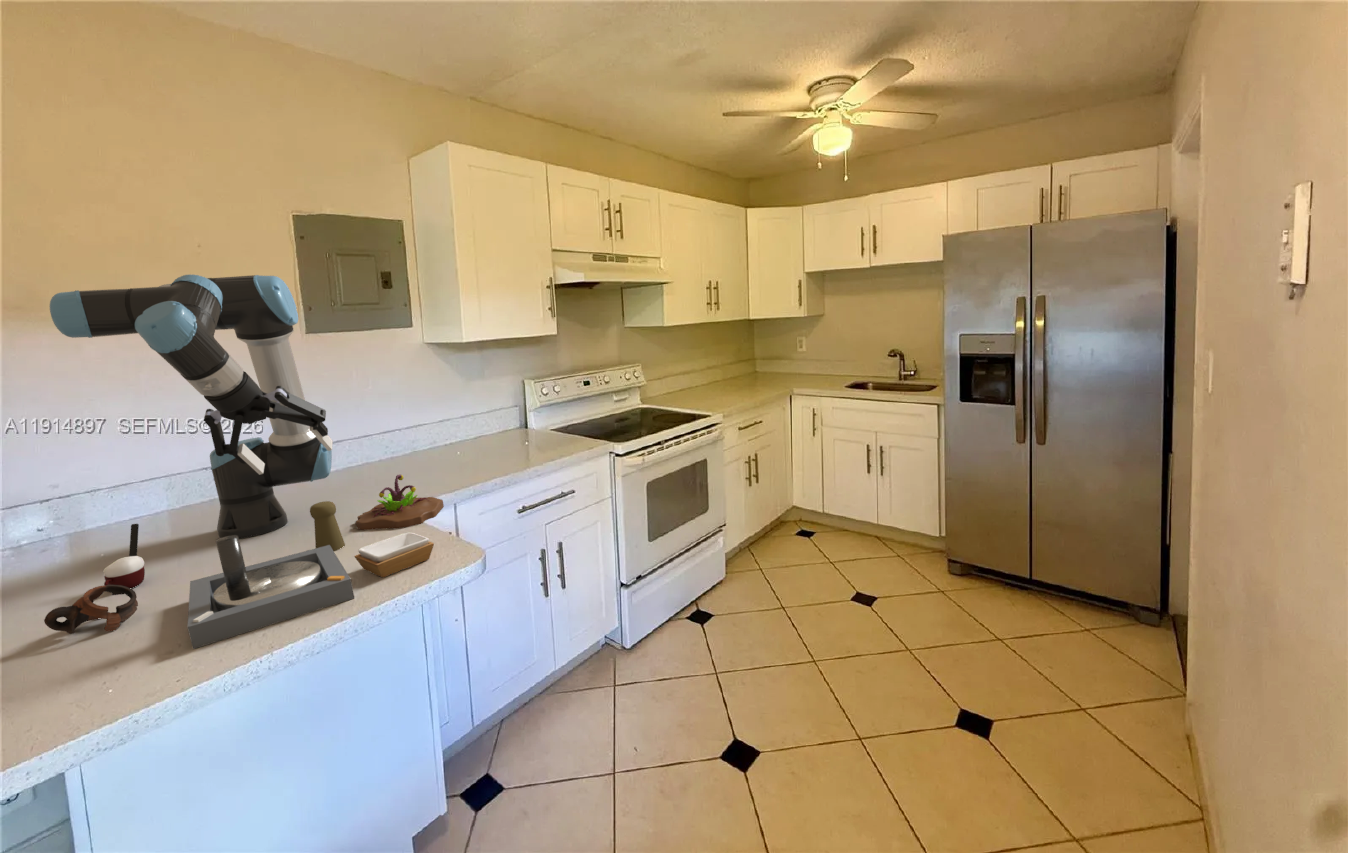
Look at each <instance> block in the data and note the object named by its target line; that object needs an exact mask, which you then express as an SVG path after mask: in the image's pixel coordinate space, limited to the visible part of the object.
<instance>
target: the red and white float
mask: <svg viewBox="0 0 1348 853" xmlns="http://www.w3.org/2000/svg"><path fill="white" fill-rule="evenodd" d="M139 526H140V525H139V523H131V525H130V537H129V538H130V539H129V555H128V556H125V557H121V558H118V559H116V560H115V561H114V562H112V563H110V564H109V565H107V566H106V567H105V568H104V569H103V571H102V573H103V574H104V576H103V577H104V580H105V581H104V583H103V584H104V585H122V586H126V587H128V588H132V589H134V588H136V587H135V586H137V585H138V586H140V585H141V584H142V583H143V582H144V579H145V574H146V570H145V561H144V559H143V557H141V556H138V545H139V544H138V543H139V541H138V540H139ZM139 584H140V585H139ZM138 586H137V587H138ZM133 587H134V588H133Z"/></svg>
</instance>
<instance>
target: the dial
mask: <svg viewBox="0 0 1348 853" xmlns="http://www.w3.org/2000/svg"><path fill="white" fill-rule="evenodd" d="M215 544H216V548H217V552H218V555H219V556H218V557H219V561H220V564H221V569H222V573H223V574H224V578H225V582H226V583H224V584H223V585H221V586H220V587H219V588H217V590H216V591H215V592H214V595H213V596H214V600H215V604H216V608H217V609H218V610H220V611H222V610H226V609H229V608H233V607H236V606H240V605H243V604H246V603H250V602H253V601H257V600H260V599H264V598H267V597H270V596H274V595H277V594H281V593H284V592H288V591H291V590H294V589H298V588H301V587H305V586H308V585H312V584H315V583H319V582H320V581H321V579H322V575H321V570H320V566H319V565H318V564H317V563H314V562H308V561H296V562H287V563H281V564H276V565H271V566H267V567H263V568H260V569H257V570H253V571H251V572H248V573H247V572H246V568H245V567H246V564H245V560H244V555H243V551H242V547H241V542H240V539H239V538H238V535H231V536H226V537H222V538H218V539H216V540H215Z"/></svg>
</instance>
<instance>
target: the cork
mask: <svg viewBox="0 0 1348 853" xmlns="http://www.w3.org/2000/svg"><path fill="white" fill-rule="evenodd" d="M336 512H337V507H336V504H335V503H334V502H333V501H330V500H329V501H327V500H325V501H320V502H317V503H313V505H311V506H310V508H309V513H310V516H311V518H312V519H314V520H313V521H314V522H313V523H314V538H315V539H314V543H315V545H314V546H315V549H316V548H319V547H323V546H327V545H330V546H331V548H332V549H333V551H334V552H336V551H339V550H341V549H343V548H344V547H345V546H346V543H345V540H344V538H343V535H342V532H341V530H340V527H339V523H338V521H337V518H336V515H335V514H336ZM343 546H344V547H343ZM342 547H343V548H342ZM340 548H341V549H340Z"/></svg>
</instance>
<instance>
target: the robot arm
mask: <svg viewBox="0 0 1348 853" xmlns="http://www.w3.org/2000/svg"><path fill="white" fill-rule="evenodd" d="M295 302H296V301H295V299H294V296H293V294H292V292H291V290H290V288H289V287H288V284H286V282H285V281H284V280H283V279H282V278H280V277H279V276H278V275H277V276H276V275H259V274H254V275H241V276H238V275H237V276H226V277H225V276H223V277H221V276H220V277H205V276H203V275H198V274H183V275H181V276H179V277H177V278H176V279H174V280H173V282H172V283H166V284H161V285H159V286H151V287H150V286H149V287H133V288H119V289H118V288H115V289H114V288H113V289H111V288H110V289H93V290H89V289H88V290H72V291H62V292H57V293H56V294H53V296H52V297H51V299H50V301H49V313H50V317H51V319H52V323H53V324H54V326H55V328H56V329H57V330H58V331H59V332H60V334H62V335H64V336H66V337H68V338H72V339H73V338H75V339H76V338H92V339H93V338H99V337H109V336H111V337H112V336H121V335H134V334H135V335H136V334H139V336H140V337H141V338H142V340H144V342H146V344H147V345H148V346H149V348H150V349H151V350H153V351H155V352H156V353H157V354H158V355H159V356H160V357H161V358H163V360H164V361H165V362H166V363H168V364H169V365H170V366H171V367H172V368H173V369H174V370H176V371H177V372H178V373H179V375H180V376H181V377H182V378H184V379H185V380H186V381H187V383H189V384H190V385H191V386H192V387H193V389H195V390H196V391H197V392H198V393H199V394H200V395H202V396H203V397H204V399H205V400H206V401H207V402H208V403H209V404H210V405H211V406H212V407H213V408H214V409H216V410H214V409H212V408H207V409H206V410H205V414H204V417H203V421H204V423H205V424H206V425H207V426H208V427H209V431H210V436H211V438H212V443H213V446H214V449H213V450H212V451H211V453H210V454H209V461H210V466H211V467H210V470H211V473H212V476H213V480H214V483H215V489H216V493H217V498H218V501H219V506H220V507H219V508H220V509H219V515H218V519H217V520H218V521H217V527H216V531H217V535H218V539H220V538H222V537H226V536H231V535H238V538H239V540H240V539H245V538H251V537H254V536H261V535H263V534H266V533H270V532H273V531H276V530H279V529H280V528H282V527H284V526H286V525H287V524H288V522H289V519H288V516H287V512H286V511H285V509H284V507H283V506H282V505H281V504H280V501H278V499H277V497H276V496H275V493H274V488H273V487H280V486H286V485H293V484H301V483H307V482H309V483H310V482H311V483H312V482H313V481H318V480H323V479H326V478H328V477H329V476H330V474H331V470H332V456H333V454H332V451H333V442H334V441H333V439H332V438H331V437H330V436H329V433H328V432H329V430H328V427H327V426H326V425H325V424H324V422H325V421H326V416H327V411H326V409H324V408H322V407H319V406H318V405H316V404H314V403H311V402H309V401H307V400H306V399H305V398H306V397H305V395H304V392H303V388H302V387H303V386H302V383H301V381H300V376H299V372H298V369H297V365H296V360H295V358H294V354H293V350H292V346H291V342H290V339H289V338H290V337H291V335H292V334H293V333H294V332H295V331H294V326H295V325H297V324H298V322H299V315H298V310H297V305H296V303H295ZM218 330H219V331H220V330H224V331H225V330H234V332H235V335H236V336H235V337H236V339H238V340H240V341H242V342H243V343H245V344H246V346H247V349H248V353H249V355H250V360H251V363H252V366H253V369H254V373H255V376H256V379H257V382H258V384H257V383H256V382H255V380H253V378H252V377H251V376H250V375H249V374H248V373H247V372H246V371H244V368H243V367H242V366H241V365H240V364H239V363H238V362H237V361H236V360H235V359H234V358H233V357H232V356H231V354H229V353H228V351H227V350H226V349H224V348H223V346H222V345H221V344H220V343H219V341H217V339H216V338H215V333H216V331H218ZM222 418H225V419H227V420H230V421H234V422H233V426H232V427H233V428H232V432H231V437H230V441H229V443H226V441H225V435H224V432H223V427H222V422H221V421H222ZM267 418H268V419H269V421H270V424H271V427H272V433H270V435H269V437H268V442H265V441H264V440H263V438H262V437H259V436H258V437H252V438H247V439H243V440H240V436H241V431H242V427H243V424H247V425H252V424H254V423H256V422H259V421H264V420H266V419H267Z"/></svg>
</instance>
